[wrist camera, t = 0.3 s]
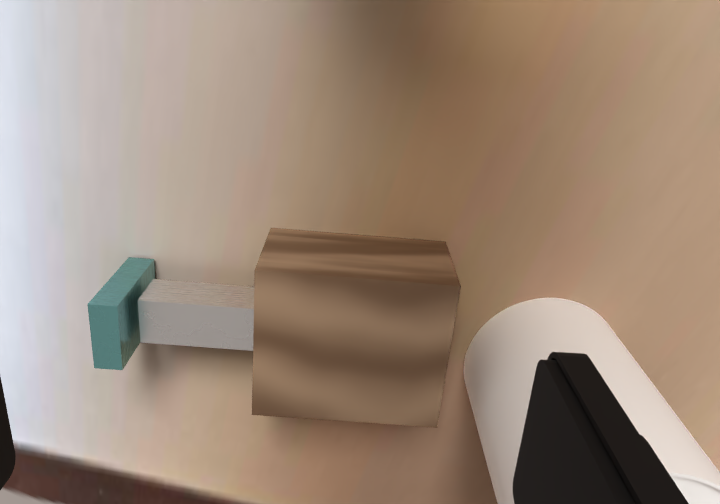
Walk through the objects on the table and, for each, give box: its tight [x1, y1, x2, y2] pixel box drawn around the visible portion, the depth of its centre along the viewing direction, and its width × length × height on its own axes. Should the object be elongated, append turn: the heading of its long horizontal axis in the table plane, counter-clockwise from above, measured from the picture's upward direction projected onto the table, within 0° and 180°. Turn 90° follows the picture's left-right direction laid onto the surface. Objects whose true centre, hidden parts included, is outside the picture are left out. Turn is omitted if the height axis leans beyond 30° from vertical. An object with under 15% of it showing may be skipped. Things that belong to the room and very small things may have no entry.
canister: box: [464, 298, 720, 504], centre depth 44 cm, size 14×14×20 cm
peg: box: [88, 257, 254, 370], centre depth 46 cm, size 5×14×8 cm, turn 85°
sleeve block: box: [252, 228, 461, 428], centre depth 47 cm, size 12×14×8 cm
